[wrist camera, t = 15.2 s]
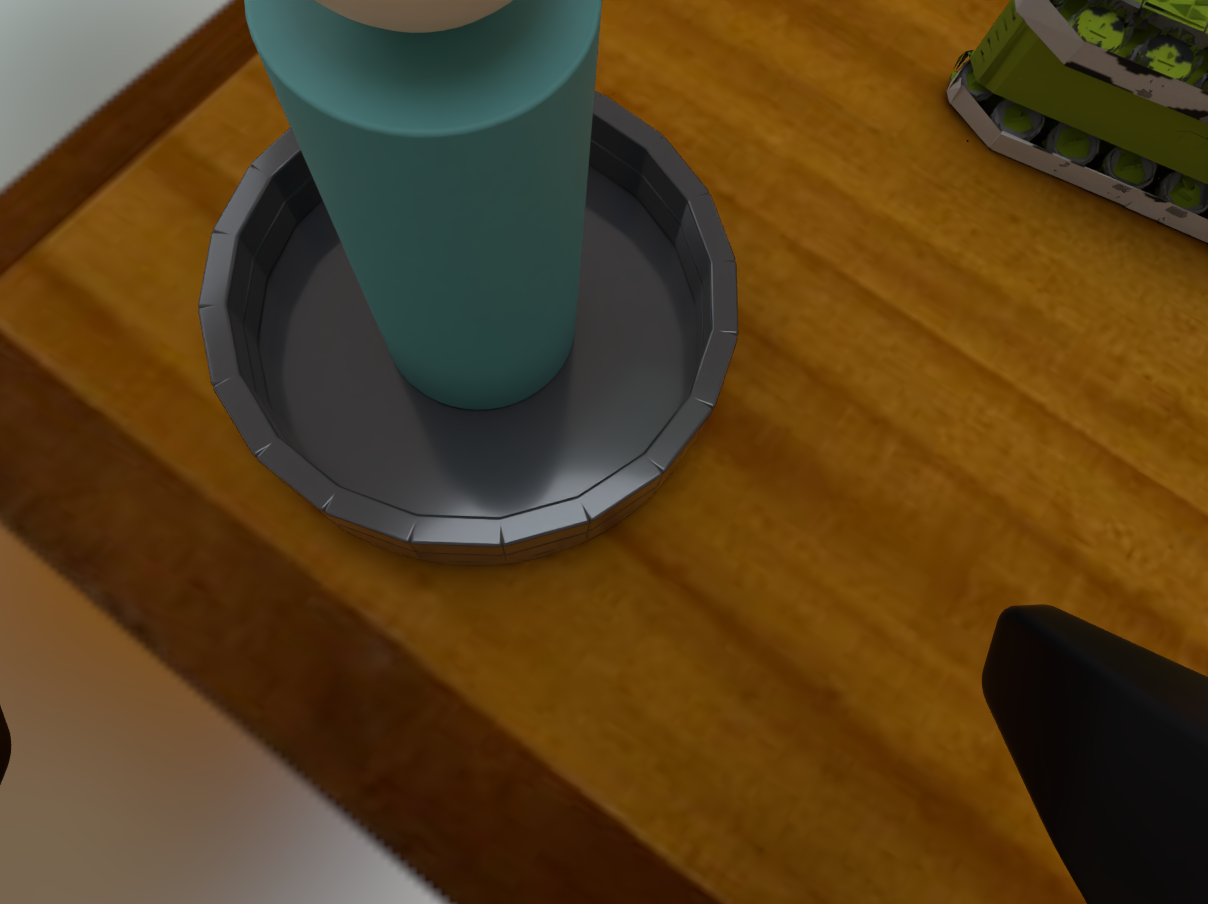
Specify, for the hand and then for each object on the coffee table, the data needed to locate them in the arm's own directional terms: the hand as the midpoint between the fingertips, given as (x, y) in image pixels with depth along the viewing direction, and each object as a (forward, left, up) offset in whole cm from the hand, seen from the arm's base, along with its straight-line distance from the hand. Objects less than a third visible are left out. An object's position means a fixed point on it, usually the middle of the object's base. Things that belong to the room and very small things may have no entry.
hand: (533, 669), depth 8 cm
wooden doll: (+8, 0, -10) cm, 13 cm away
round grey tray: (+8, 0, -11) cm, 14 cm away
